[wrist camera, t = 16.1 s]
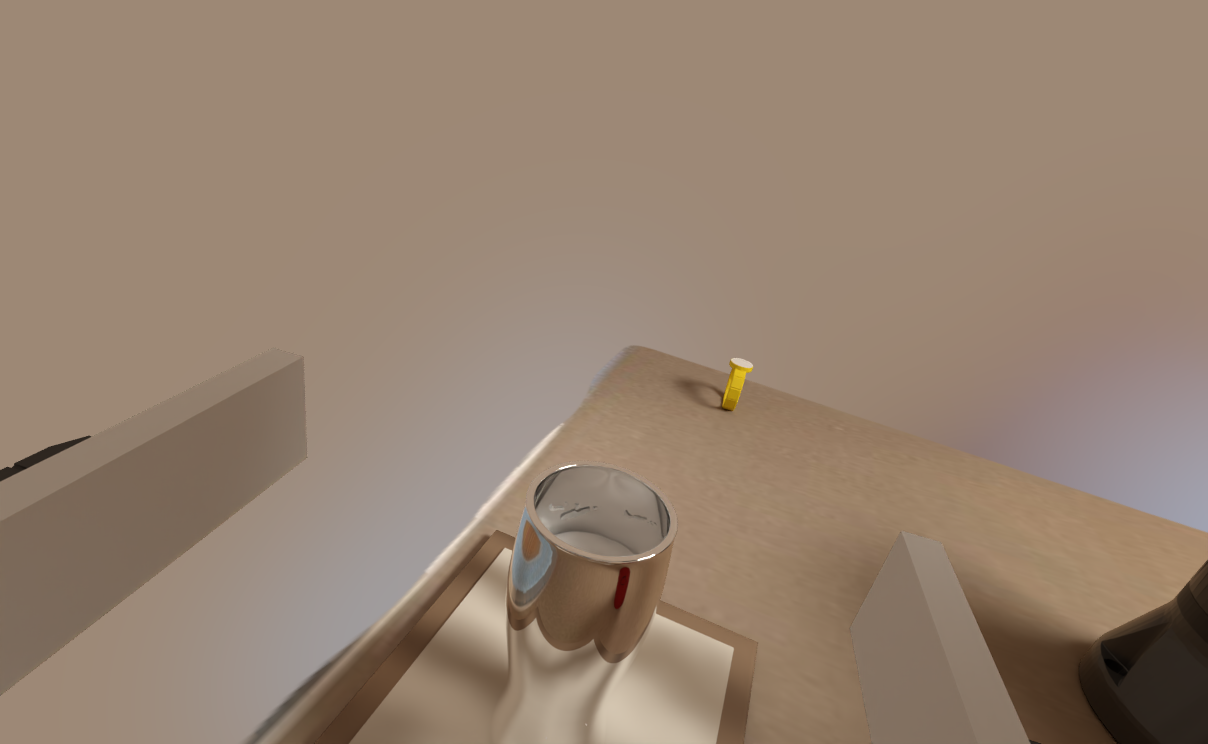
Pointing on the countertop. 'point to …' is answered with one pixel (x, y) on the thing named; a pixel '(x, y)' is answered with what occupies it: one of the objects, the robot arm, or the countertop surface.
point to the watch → (735, 382)
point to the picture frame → (480, 669)
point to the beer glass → (579, 599)
